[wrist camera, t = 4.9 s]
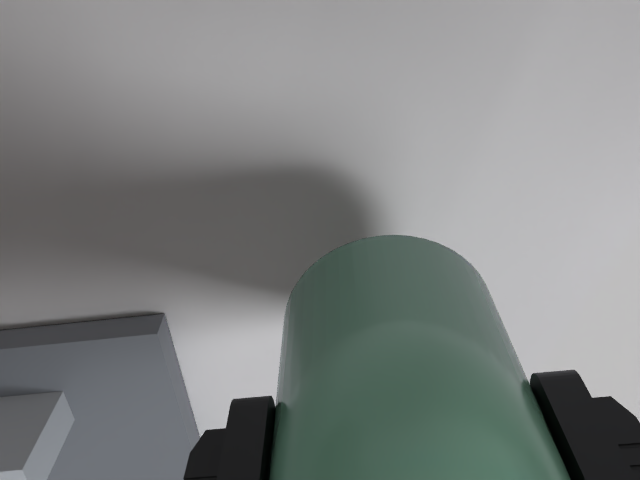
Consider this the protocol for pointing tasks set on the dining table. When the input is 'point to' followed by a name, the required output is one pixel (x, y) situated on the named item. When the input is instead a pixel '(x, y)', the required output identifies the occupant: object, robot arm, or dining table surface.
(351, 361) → the green bottle
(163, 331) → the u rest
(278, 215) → the dining table surface
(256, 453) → the robot arm
